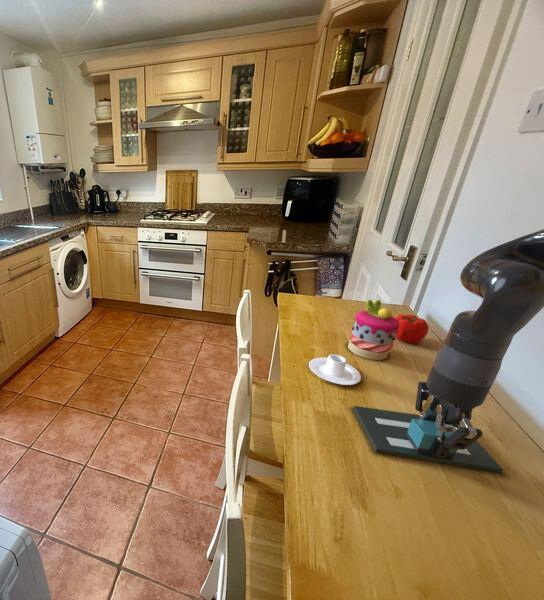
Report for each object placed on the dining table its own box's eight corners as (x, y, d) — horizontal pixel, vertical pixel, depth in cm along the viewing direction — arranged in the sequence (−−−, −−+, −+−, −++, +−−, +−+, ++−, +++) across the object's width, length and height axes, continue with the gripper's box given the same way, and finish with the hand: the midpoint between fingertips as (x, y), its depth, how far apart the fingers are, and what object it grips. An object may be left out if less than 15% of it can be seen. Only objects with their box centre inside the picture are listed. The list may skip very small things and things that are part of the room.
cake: (396, 355, 92) (414, 308, 86) (374, 364, 88) (391, 315, 82) (360, 338, 100) (374, 294, 95) (338, 346, 96) (351, 301, 90)
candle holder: (355, 393, 76) (360, 379, 75) (302, 374, 84) (306, 360, 82) (363, 371, 85) (368, 357, 83) (315, 354, 92) (318, 342, 90)
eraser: (440, 440, 62) (448, 422, 60) (454, 457, 58) (463, 439, 57) (405, 435, 63) (412, 418, 62) (416, 452, 60) (424, 434, 58)
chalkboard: (456, 424, 68) (458, 420, 67) (500, 473, 57) (503, 469, 56) (352, 409, 72) (353, 405, 71) (375, 452, 61) (376, 448, 61)
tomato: (400, 330, 105) (407, 310, 102) (429, 343, 98) (438, 322, 95) (379, 334, 103) (386, 314, 100) (408, 348, 95) (416, 326, 92)
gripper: (525, 402, 47) (479, 482, 54) (460, 351, 60) (430, 421, 66) (465, 395, 49) (427, 474, 55) (414, 347, 61) (389, 416, 68)
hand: (429, 445), depth 61 cm, fingers closed on eraser, 4 cm apart
